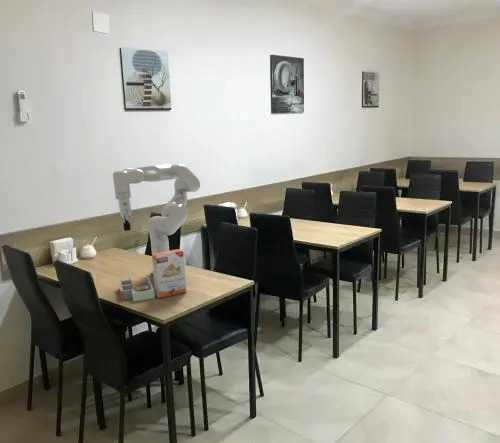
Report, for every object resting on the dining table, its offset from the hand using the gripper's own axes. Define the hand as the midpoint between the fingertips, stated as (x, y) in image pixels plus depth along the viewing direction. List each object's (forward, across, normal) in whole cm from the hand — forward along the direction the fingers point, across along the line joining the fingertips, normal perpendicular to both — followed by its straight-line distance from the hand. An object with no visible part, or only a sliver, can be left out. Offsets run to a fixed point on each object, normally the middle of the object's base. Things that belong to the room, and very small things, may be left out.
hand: (127, 230), depth 250 cm
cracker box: (+28, -30, -14) cm, 44 cm away
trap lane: (+28, -18, +1) cm, 33 cm away
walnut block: (+28, -28, -1) cm, 39 cm away
